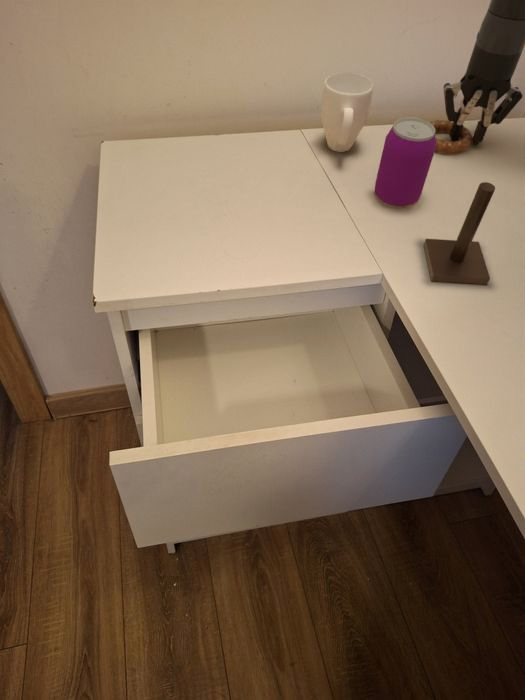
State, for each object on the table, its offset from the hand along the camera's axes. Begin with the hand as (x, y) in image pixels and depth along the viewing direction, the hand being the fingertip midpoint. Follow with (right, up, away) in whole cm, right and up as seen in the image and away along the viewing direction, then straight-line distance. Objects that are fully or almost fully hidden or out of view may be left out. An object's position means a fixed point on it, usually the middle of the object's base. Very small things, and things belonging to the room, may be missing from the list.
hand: (464, 141), depth 97 cm
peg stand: (-10, -27, -21) cm, 35 cm away
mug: (-24, -3, -3) cm, 24 cm away
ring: (-4, +1, -1) cm, 4 cm away
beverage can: (-16, -14, -11) cm, 24 cm away
